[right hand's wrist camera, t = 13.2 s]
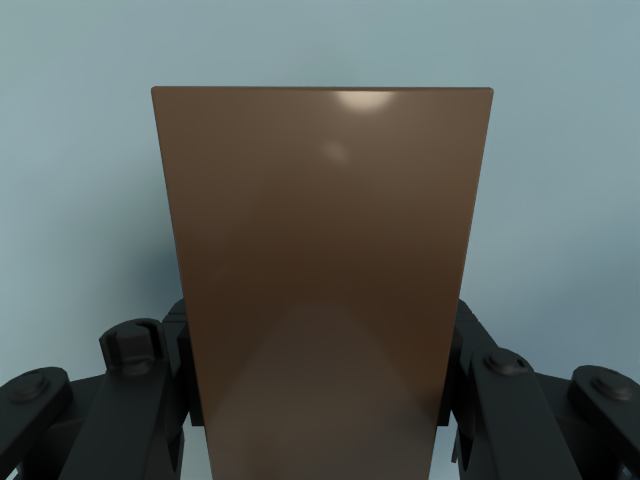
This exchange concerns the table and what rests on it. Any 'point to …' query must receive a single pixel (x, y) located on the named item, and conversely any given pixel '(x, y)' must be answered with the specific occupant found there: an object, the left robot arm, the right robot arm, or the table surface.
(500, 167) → the table surface
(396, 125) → the bar
